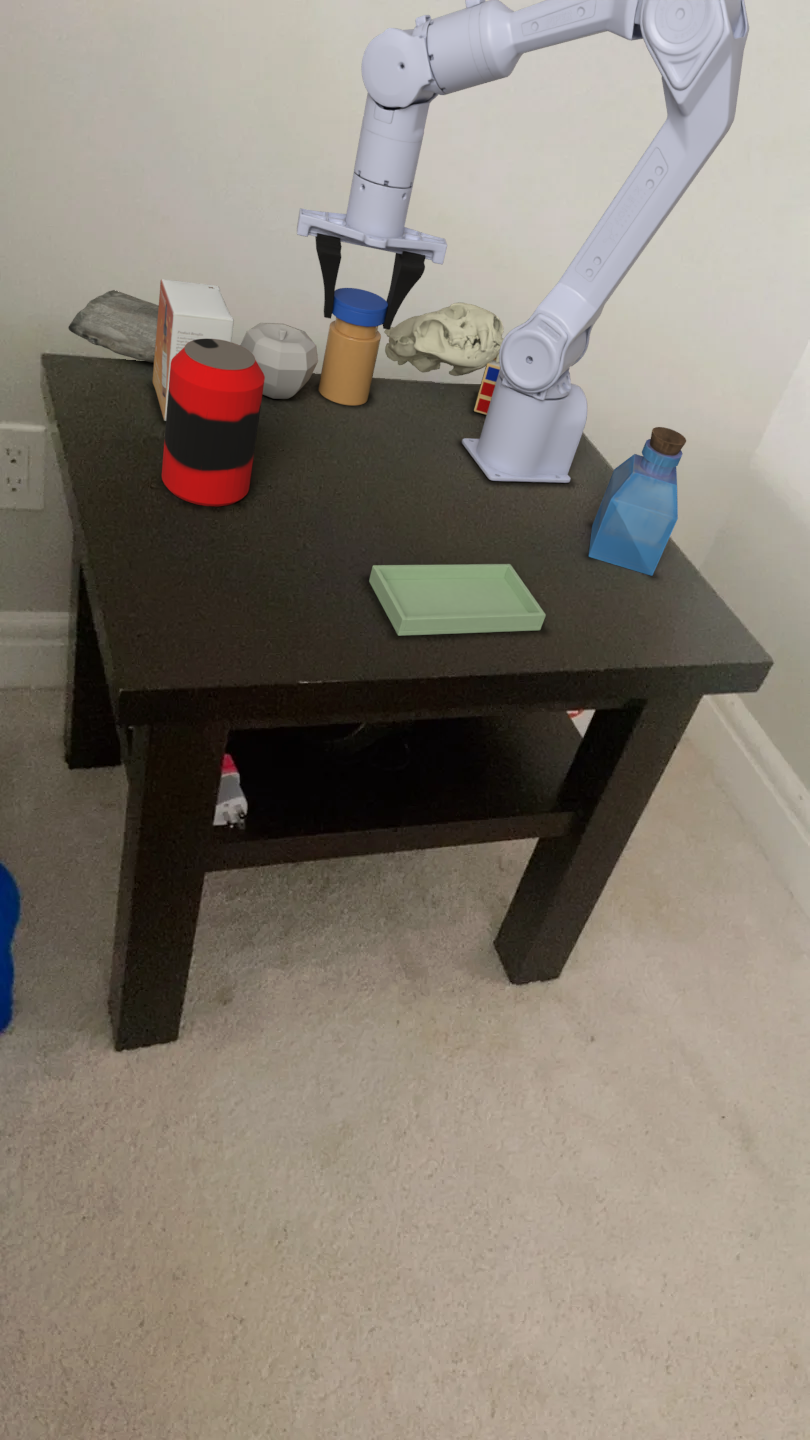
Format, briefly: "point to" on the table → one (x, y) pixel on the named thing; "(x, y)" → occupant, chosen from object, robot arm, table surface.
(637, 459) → the perfume bottle
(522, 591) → the tray
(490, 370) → the rubik's cube
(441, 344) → the animal skull
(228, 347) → the soda can
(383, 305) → the lid
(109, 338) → the stone
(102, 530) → the table surface
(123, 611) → the table surface
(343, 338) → the jar
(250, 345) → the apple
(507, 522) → the table surface
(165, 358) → the small box
